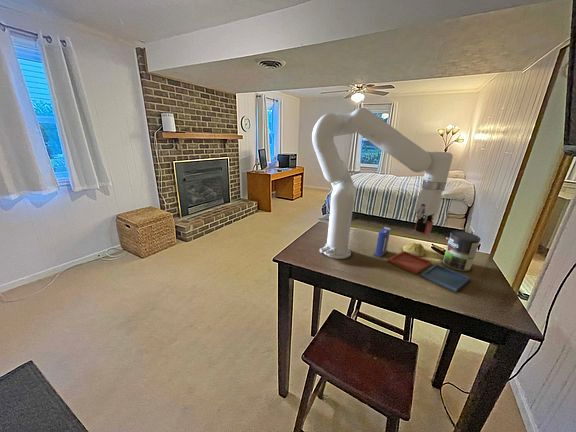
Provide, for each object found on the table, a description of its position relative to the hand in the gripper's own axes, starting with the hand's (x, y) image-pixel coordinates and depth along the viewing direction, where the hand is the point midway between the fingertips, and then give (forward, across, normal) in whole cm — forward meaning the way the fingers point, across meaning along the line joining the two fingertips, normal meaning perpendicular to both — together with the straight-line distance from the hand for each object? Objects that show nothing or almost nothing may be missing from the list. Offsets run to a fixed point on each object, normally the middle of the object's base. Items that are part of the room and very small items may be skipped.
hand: (422, 229), depth 97 cm
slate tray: (+16, 0, +12) cm, 20 cm away
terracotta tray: (+16, 0, -2) cm, 17 cm away
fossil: (+17, -13, -7) cm, 22 cm away
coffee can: (+17, -16, +10) cm, 25 cm away
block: (+1, 0, 0) cm, 1 cm away
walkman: (+17, +2, -15) cm, 22 cm away
